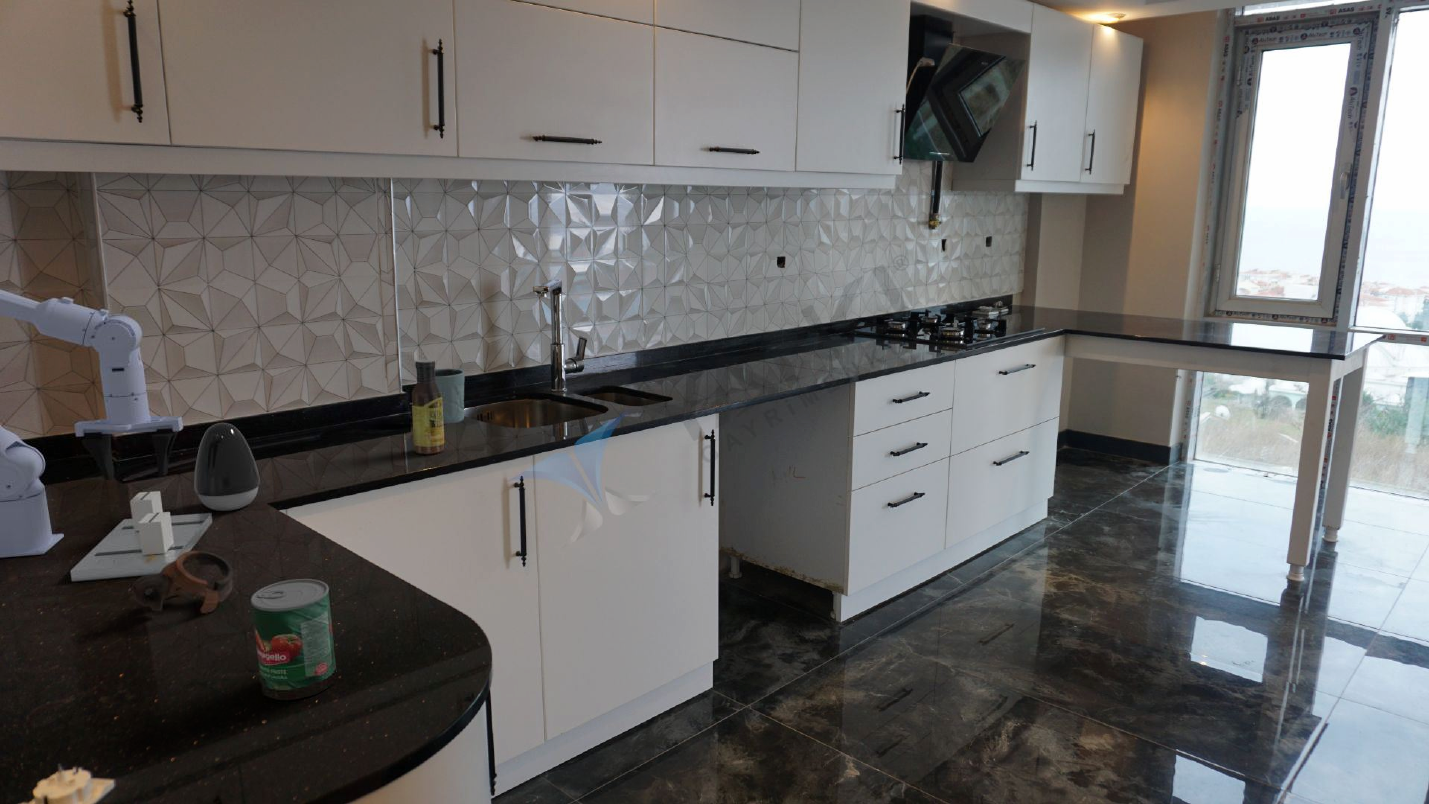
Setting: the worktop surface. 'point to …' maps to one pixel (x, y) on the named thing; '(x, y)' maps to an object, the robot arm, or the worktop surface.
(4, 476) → the robot arm
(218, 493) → the black egg shape
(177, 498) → the worktop surface
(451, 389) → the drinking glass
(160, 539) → the cap
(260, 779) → the worktop surface
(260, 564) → the worktop surface
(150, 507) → the far fader cap
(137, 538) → the board
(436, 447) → the sauce bottle
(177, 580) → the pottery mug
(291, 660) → the canned tomato
